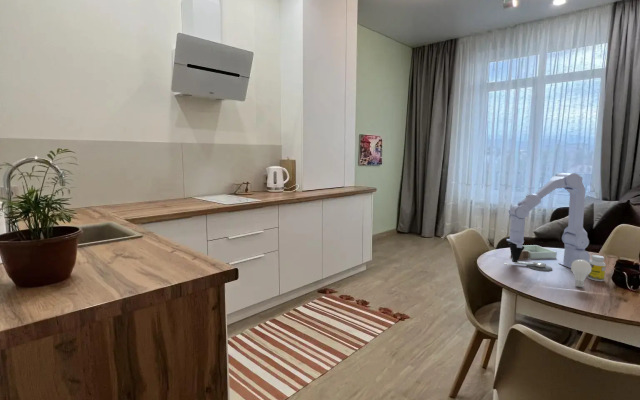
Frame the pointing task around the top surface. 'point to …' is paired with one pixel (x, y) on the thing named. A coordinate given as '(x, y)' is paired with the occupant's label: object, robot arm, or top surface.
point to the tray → (539, 252)
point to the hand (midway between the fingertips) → (514, 259)
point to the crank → (536, 264)
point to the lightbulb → (580, 271)
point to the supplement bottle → (597, 268)
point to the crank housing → (537, 267)
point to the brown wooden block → (524, 254)
